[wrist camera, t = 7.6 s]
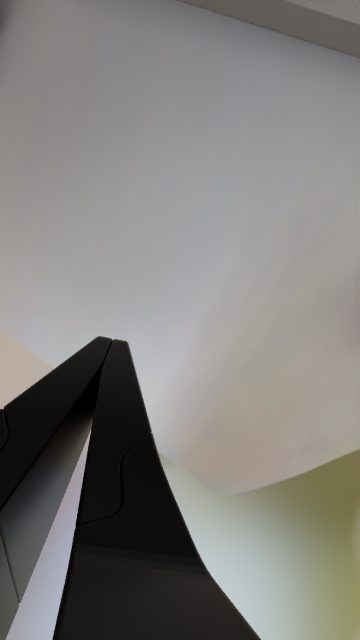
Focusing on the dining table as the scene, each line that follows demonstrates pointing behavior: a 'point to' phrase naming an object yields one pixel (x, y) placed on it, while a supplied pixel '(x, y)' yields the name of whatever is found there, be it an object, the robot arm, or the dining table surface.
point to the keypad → (299, 19)
